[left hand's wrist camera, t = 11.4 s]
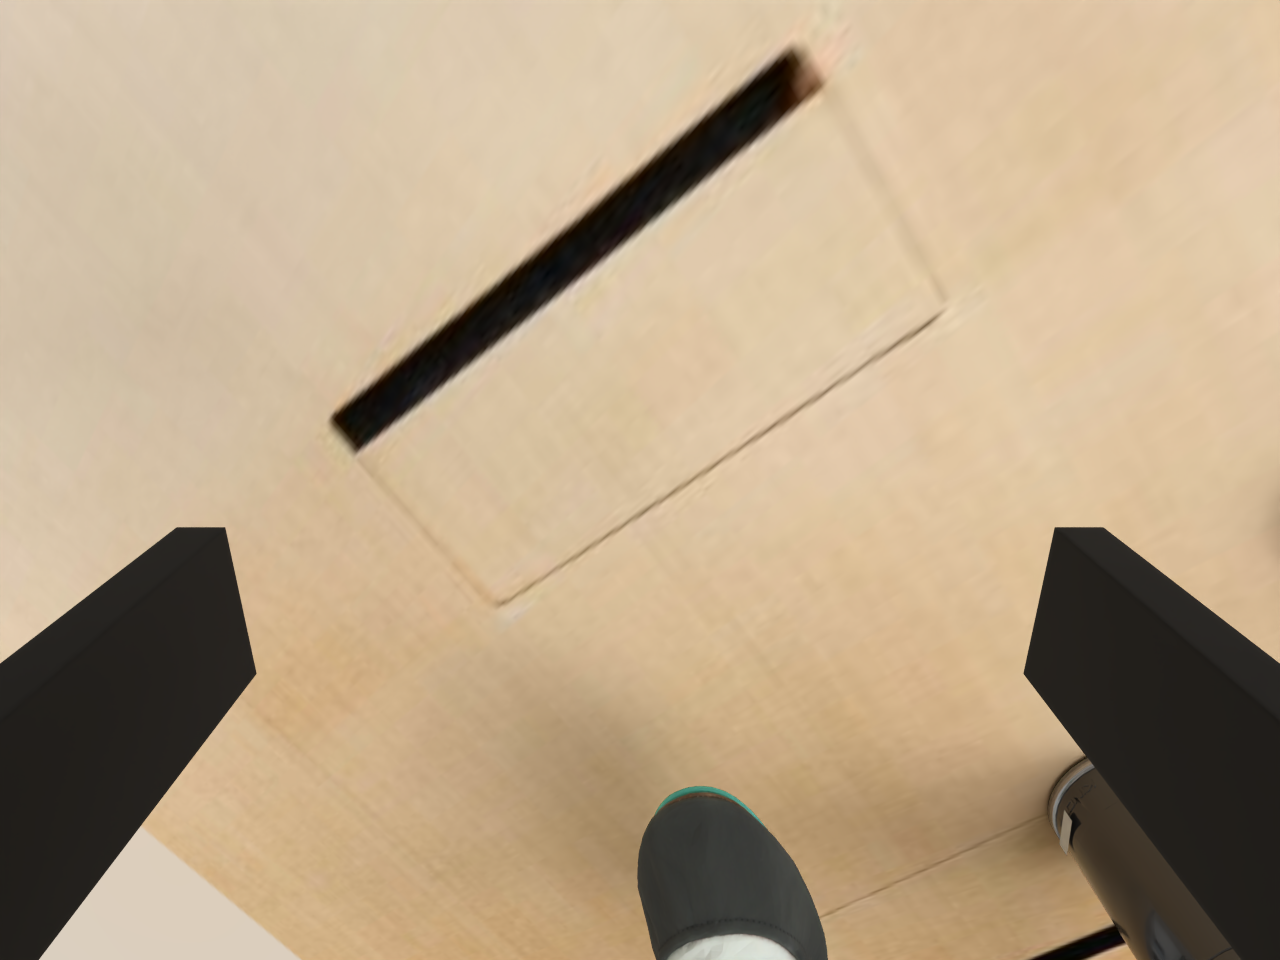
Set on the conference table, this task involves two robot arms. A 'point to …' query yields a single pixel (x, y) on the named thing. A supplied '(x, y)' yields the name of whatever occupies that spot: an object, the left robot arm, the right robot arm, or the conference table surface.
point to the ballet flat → (722, 885)
